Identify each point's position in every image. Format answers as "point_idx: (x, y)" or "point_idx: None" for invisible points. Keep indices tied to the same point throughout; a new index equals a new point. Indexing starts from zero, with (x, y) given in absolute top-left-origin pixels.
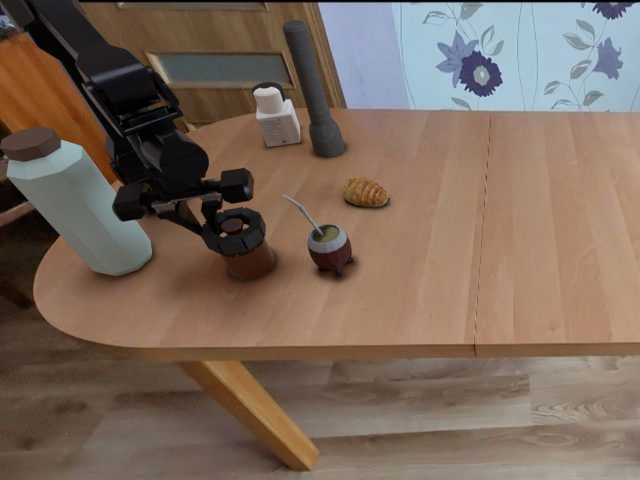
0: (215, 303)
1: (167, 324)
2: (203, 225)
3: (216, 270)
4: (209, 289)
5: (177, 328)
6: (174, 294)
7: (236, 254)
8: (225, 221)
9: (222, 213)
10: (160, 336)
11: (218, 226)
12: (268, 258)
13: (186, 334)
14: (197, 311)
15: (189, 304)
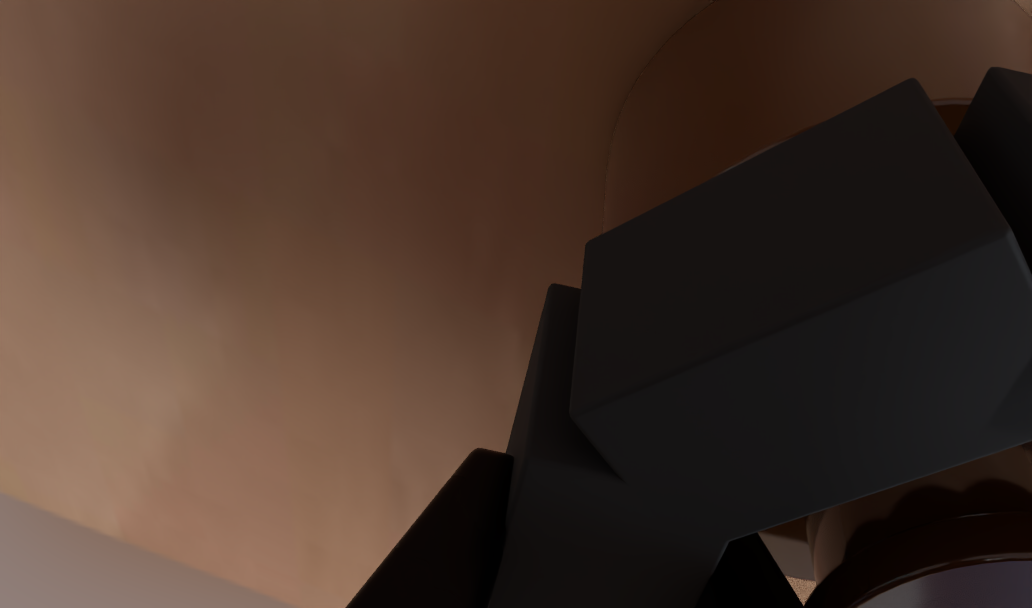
0: (441, 437)
1: (135, 448)
2: (533, 504)
3: (479, 87)
4: (404, 291)
5: (205, 501)
6: (125, 208)
7: (770, 538)
8: (946, 573)
9: (1019, 343)
10: (113, 506)
11: (775, 570)
12: None
13: (264, 558)
14: (319, 442)
15: (258, 361)
